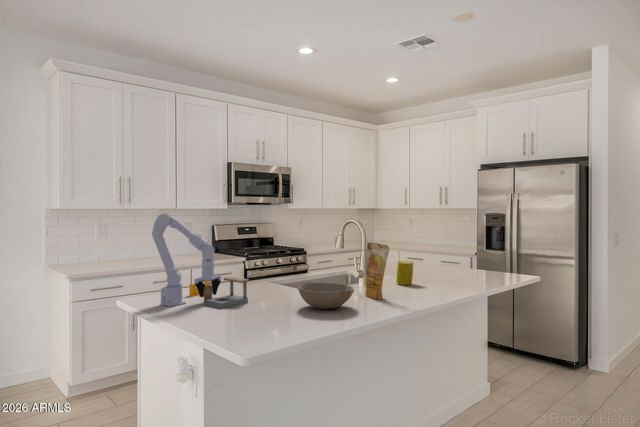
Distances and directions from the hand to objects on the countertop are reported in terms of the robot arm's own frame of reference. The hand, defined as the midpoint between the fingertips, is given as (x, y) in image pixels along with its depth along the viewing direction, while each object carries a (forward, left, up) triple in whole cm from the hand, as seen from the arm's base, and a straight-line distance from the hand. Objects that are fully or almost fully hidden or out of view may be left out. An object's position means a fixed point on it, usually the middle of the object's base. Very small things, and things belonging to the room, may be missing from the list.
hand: (208, 295), depth 216 cm
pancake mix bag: (+62, -58, -3) cm, 85 cm away
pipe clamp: (+9, +20, -3) cm, 22 cm away
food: (+105, -52, -3) cm, 117 cm away
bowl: (+27, -53, -3) cm, 60 cm away
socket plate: (+3, -11, -3) cm, 12 cm away
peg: (0, 0, -3) cm, 3 cm away
